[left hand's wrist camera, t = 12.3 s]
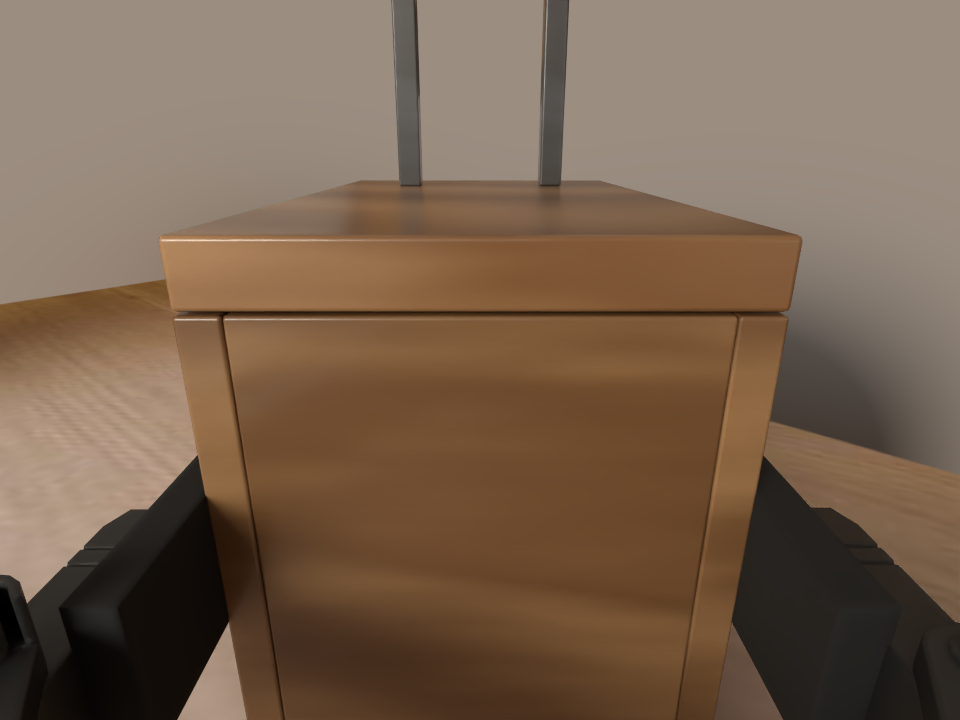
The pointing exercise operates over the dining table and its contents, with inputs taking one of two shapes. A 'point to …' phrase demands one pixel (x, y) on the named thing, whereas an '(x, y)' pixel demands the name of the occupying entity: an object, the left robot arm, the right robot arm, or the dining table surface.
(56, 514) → the dining table surface
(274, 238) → the lid
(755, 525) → the left robot arm
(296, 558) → the chest
